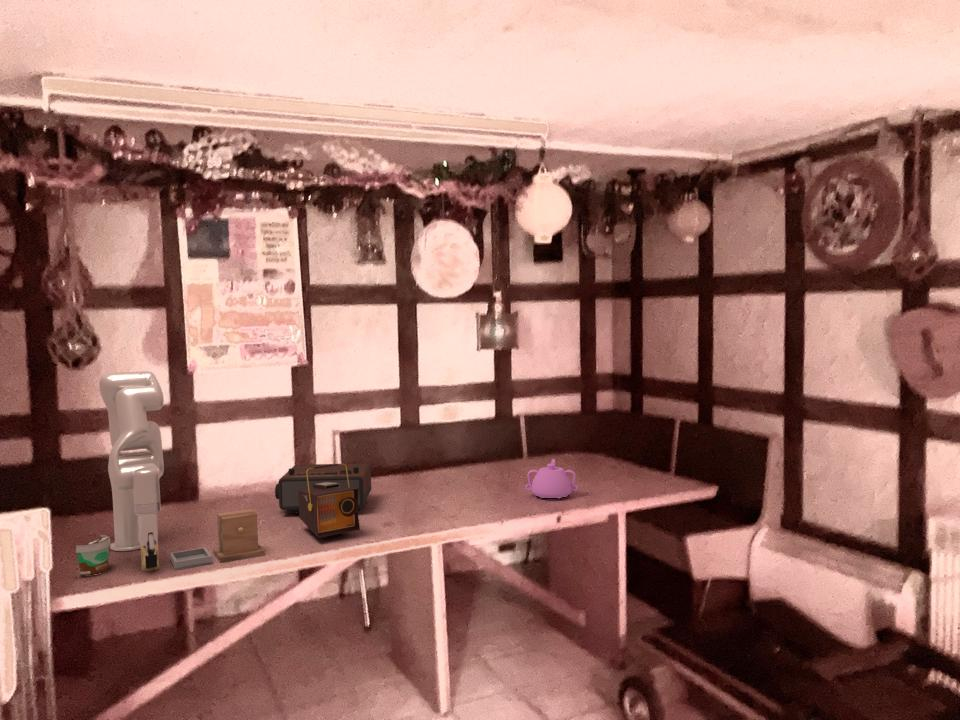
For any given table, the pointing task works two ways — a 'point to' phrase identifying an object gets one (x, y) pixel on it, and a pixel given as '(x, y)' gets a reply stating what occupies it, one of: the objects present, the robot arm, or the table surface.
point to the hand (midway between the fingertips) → (150, 564)
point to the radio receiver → (335, 474)
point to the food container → (94, 556)
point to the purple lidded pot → (551, 482)
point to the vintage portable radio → (329, 507)
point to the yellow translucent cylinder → (143, 554)
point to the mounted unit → (237, 536)
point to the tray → (190, 558)
